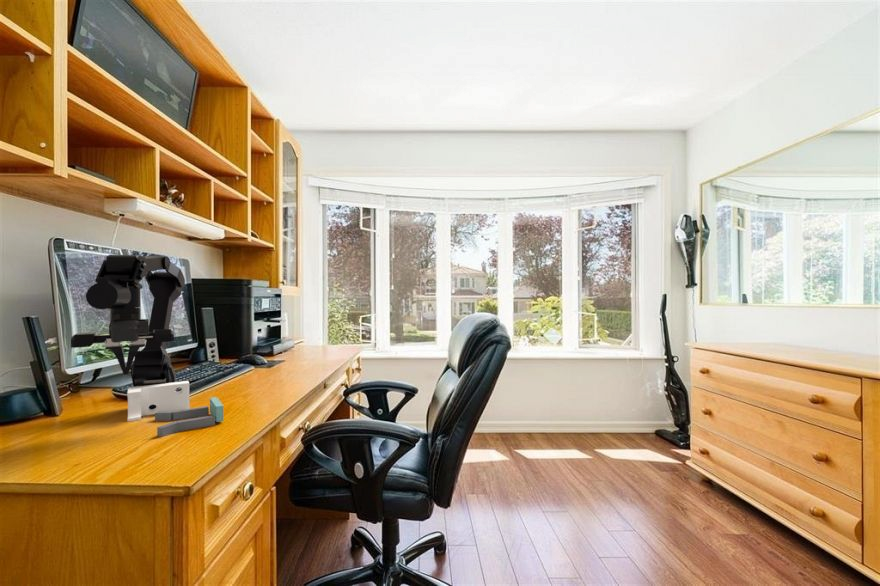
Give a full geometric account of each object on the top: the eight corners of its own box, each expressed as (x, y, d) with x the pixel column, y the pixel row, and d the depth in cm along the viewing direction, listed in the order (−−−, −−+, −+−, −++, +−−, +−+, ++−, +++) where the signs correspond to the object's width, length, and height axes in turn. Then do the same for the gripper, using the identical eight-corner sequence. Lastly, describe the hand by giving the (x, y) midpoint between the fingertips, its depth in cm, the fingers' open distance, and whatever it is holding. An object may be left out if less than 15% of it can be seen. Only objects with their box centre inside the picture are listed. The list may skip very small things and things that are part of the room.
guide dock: (154, 420, 99) (154, 411, 99) (206, 411, 106) (206, 404, 106) (157, 438, 87) (157, 428, 87) (216, 427, 93) (216, 418, 93)
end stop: (209, 411, 104) (209, 397, 104) (216, 410, 105) (216, 397, 105) (216, 422, 96) (216, 406, 96) (223, 420, 97) (223, 405, 97)
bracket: (128, 415, 103) (127, 422, 97) (128, 387, 103) (127, 393, 97) (188, 406, 111) (190, 412, 105) (188, 380, 111) (190, 385, 105)
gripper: (67, 310, 83) (67, 386, 83) (175, 307, 94) (175, 374, 94) (73, 308, 92) (74, 377, 92) (172, 306, 103) (172, 368, 103)
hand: (125, 374), depth 95 cm, fingers closed
